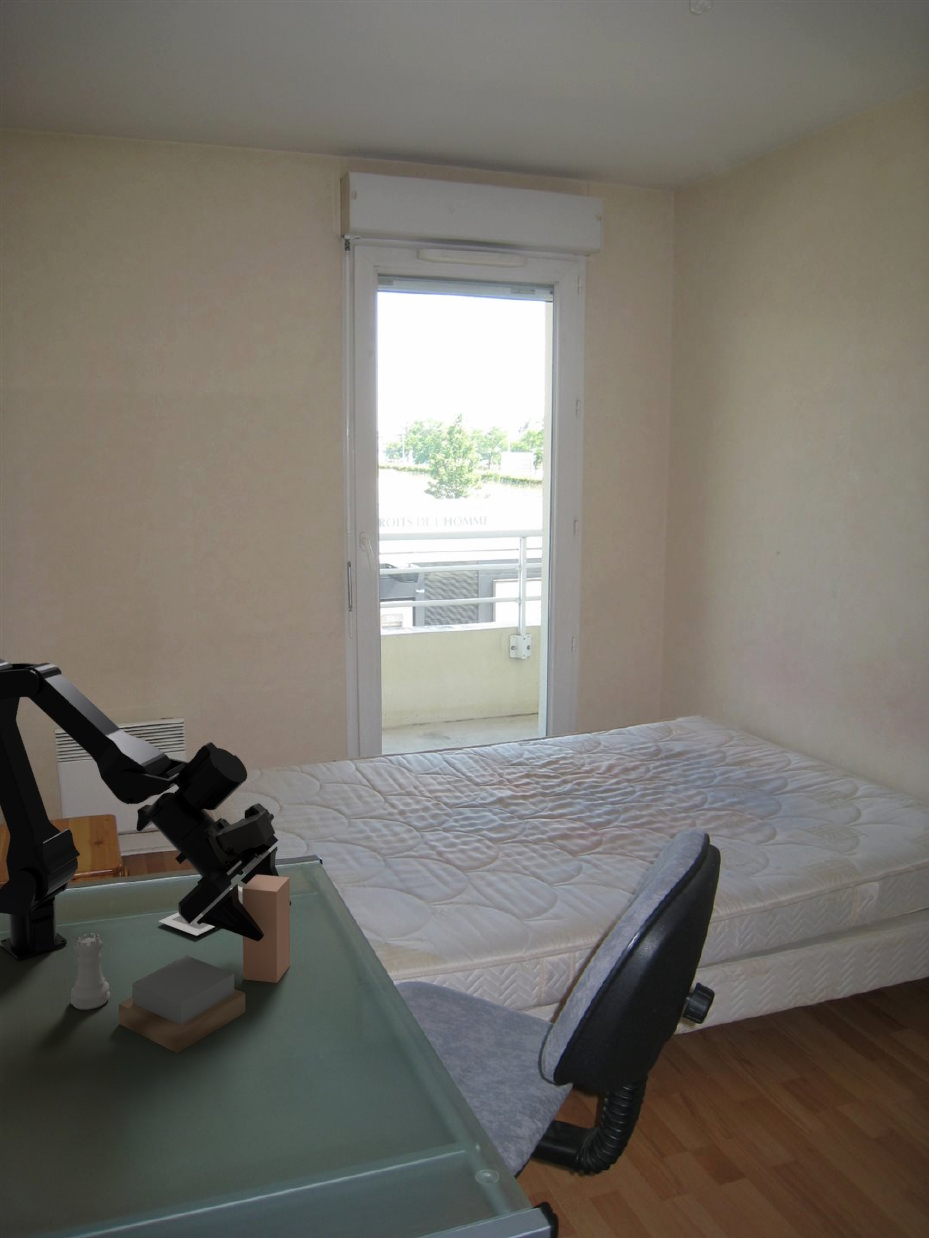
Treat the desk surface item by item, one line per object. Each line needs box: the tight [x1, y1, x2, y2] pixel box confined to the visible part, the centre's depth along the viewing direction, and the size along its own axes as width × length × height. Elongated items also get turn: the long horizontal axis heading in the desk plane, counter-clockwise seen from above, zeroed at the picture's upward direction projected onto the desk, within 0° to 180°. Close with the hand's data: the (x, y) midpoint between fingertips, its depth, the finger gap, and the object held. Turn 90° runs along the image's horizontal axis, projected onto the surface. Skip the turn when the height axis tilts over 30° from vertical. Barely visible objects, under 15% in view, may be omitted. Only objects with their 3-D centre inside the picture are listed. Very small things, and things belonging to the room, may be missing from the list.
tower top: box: [131, 954, 235, 1025], centre depth 108 cm, size 8×8×2 cm
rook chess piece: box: [70, 933, 111, 1011], centre depth 111 cm, size 4×4×8 cm
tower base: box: [118, 988, 246, 1054], centre depth 108 cm, size 10×10×3 cm
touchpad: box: [158, 885, 243, 937], centre depth 136 cm, size 8×15×2 cm, turn 148°
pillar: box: [242, 875, 291, 984], centre depth 118 cm, size 4×4×12 cm
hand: (275, 922), depth 118 cm, fingers open, 9 cm apart
